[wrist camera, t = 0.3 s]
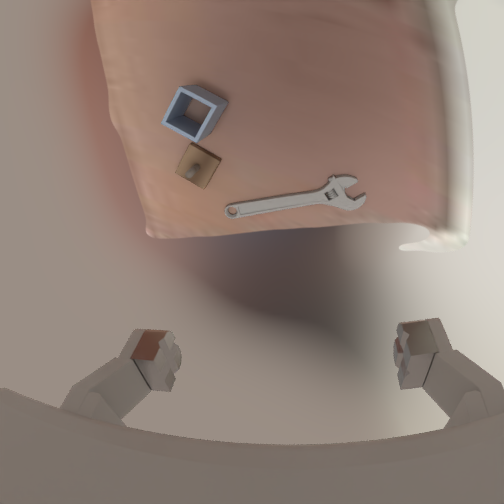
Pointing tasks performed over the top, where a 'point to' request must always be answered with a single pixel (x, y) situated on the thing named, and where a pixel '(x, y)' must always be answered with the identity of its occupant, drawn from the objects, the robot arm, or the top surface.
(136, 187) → the top surface
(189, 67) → the top surface
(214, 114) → the collar
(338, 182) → the adjustable wrench
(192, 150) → the post stand
